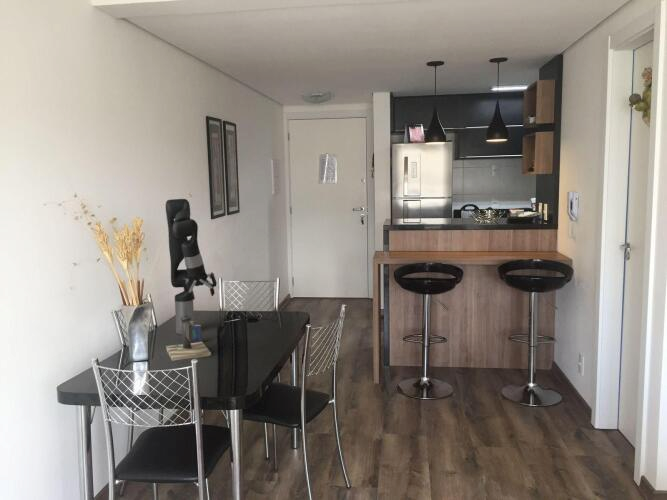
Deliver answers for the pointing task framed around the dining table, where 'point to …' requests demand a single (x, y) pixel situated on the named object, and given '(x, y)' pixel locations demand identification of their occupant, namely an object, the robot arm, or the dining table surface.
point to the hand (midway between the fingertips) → (203, 297)
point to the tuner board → (188, 351)
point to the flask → (196, 333)
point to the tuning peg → (186, 331)
